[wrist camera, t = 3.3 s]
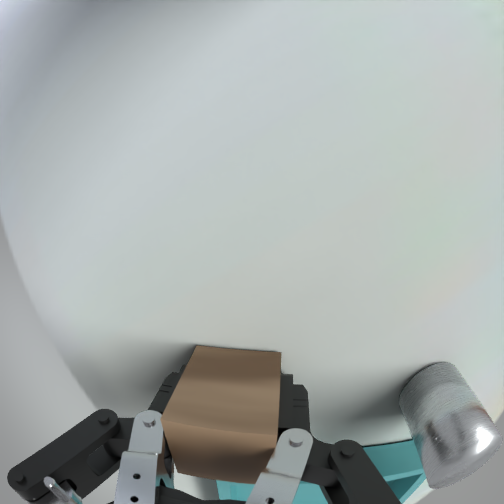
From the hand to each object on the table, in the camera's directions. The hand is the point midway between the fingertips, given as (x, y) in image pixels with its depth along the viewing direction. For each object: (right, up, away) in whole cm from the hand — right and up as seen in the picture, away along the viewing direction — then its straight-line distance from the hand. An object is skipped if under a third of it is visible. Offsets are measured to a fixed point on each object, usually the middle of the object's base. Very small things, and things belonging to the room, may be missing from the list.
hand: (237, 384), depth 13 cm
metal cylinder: (+11, -1, -1) cm, 11 cm away
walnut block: (0, 0, 0) cm, 0 cm away
